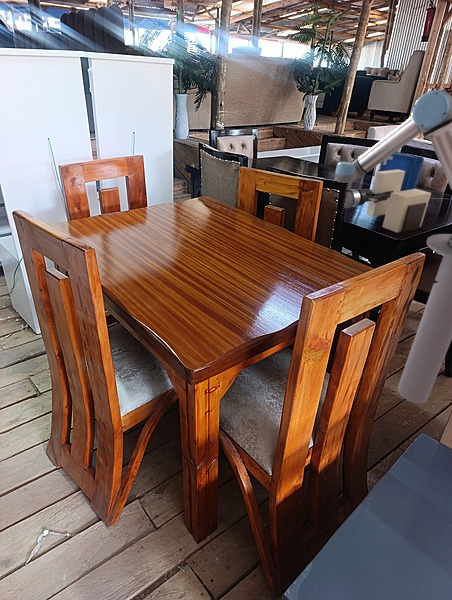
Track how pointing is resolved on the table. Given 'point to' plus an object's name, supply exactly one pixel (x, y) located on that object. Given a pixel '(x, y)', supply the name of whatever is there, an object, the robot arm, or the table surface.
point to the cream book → (384, 189)
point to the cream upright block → (406, 210)
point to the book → (404, 168)
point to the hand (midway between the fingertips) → (388, 192)
